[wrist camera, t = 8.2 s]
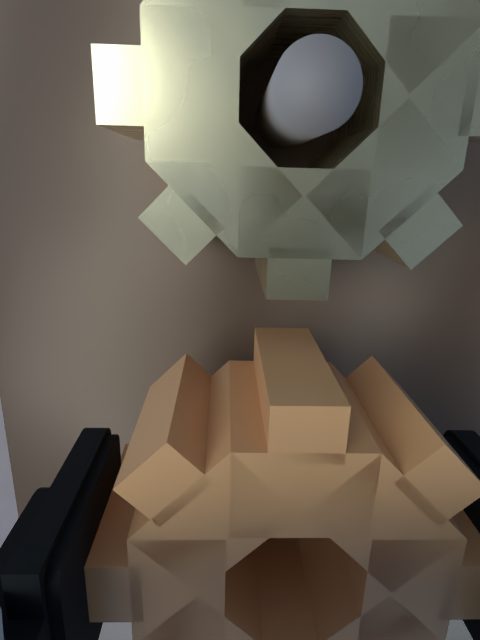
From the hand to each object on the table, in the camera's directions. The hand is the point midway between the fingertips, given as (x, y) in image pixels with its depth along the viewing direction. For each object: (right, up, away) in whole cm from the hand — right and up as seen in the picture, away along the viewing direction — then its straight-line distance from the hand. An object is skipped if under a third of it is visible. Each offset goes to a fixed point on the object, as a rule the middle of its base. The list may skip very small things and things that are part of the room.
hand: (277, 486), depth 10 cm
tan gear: (0, 0, +1) cm, 1 cm away
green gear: (0, +9, +1) cm, 9 cm away
